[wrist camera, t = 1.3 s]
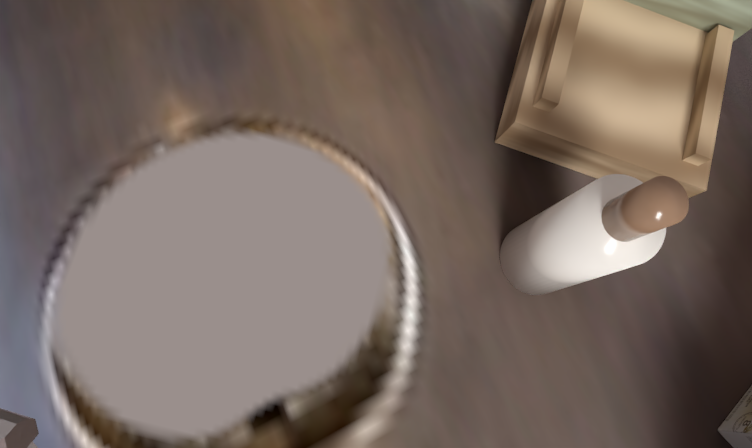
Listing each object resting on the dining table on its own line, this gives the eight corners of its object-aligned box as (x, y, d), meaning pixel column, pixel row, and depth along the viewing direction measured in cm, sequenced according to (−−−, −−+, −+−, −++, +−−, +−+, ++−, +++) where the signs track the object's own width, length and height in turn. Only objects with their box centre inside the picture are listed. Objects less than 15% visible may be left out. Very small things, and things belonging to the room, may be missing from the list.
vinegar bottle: (493, 227, 49) (606, 154, 33) (560, 220, 50) (699, 145, 34) (506, 299, 48) (629, 257, 32) (574, 290, 49) (724, 246, 33)
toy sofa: (672, 205, 52) (769, 163, 42) (494, 142, 50) (552, 84, 41) (702, 41, 55) (798, -32, 46) (538, -22, 54) (601, -110, 44)
